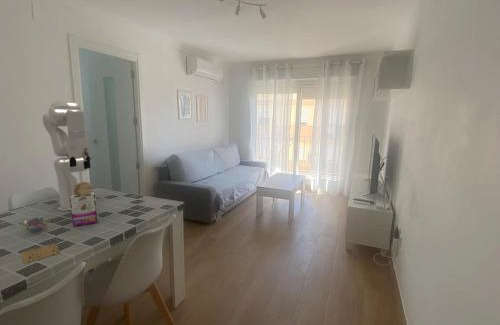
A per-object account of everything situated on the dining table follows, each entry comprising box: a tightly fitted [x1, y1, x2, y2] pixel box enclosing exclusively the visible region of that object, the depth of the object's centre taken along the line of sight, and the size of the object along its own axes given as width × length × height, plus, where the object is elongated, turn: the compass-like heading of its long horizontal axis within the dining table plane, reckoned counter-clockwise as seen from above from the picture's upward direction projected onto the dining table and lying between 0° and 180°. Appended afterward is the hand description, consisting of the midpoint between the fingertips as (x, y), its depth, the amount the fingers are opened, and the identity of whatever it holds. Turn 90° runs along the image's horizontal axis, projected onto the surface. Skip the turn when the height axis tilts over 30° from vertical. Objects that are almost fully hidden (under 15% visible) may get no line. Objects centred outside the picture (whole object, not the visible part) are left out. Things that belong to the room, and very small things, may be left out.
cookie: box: [20, 242, 61, 265], centre depth 107 cm, size 12×12×1 cm
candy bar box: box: [70, 191, 99, 227], centre depth 136 cm, size 11×5×16 cm, turn 118°
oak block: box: [73, 181, 93, 196], centre depth 134 cm, size 6×6×6 cm
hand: (80, 167), depth 133 cm, fingers open, 9 cm apart
